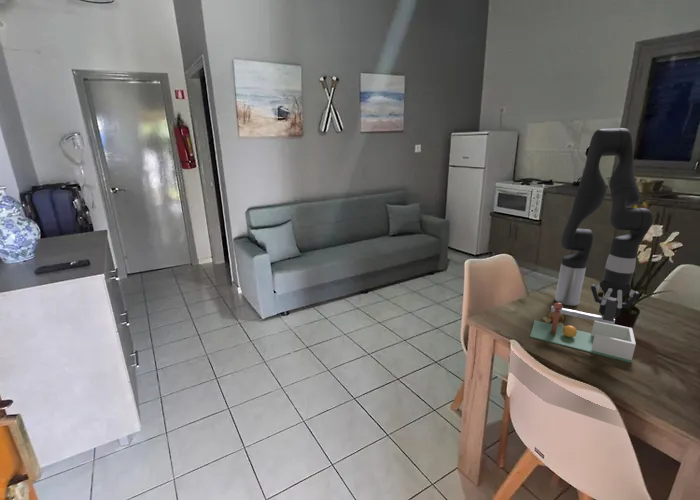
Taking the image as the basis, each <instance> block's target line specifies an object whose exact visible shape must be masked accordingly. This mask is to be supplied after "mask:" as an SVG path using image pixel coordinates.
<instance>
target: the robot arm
mask: <svg viewBox="0 0 700 500" xmlns="http://www.w3.org/2000/svg"><path fill="white" fill-rule="evenodd" d="M633 147H634V146H633V137H632V134H631V131H630V129H628V128H625V127H624V128H623V127H618V128H616V127H615V128H600V129H597V130H595V131H594V133H593V134H592V136H591V139H590V142H589V146H588V150H587V151H588V152H587V155H586V161H585V166H584V169H583V173H582V176H581V177H580V181H579V185H578V186H577V187H578V188H577V189H576V190H577V191H576V193H575V198H574V201H573V206H572V209H571V212H570V215H569V218H568V220H567V222H566V225H565V227H564V229H563V231H562V234H561V235H562V236H561V238H560V239H561V240H560V244H561V247H562V248H563V249H564V250H568V251H575V252H574V253H571V254H567V255H564V256H563V257H562V259H561V261H560V262H561V263H560V269H559V274H558V278H557V279H558V280H557V286H556V289H555V290H556V291H555V296H554V300H555V301H556V303H557V302H559V303H561V304H562V305H565V306H569V307H570V306H572V307H573V306H579V304H580V299H581V294H582V290H583V285H584V279H585V275H586V269H587V265H588V263H589V258H590V255H591V251H592V248H593V243H594V237H595V236H594V232H593V230H591V229H589V228H579V226H580V225H581V224H582V222H584V220H586V219H587V218H589V217H590V216H591V215H592V214H594V213H595V212H596V211H597V210H599V208H600V207H602V204H603V201H604V198H605V196H606V193H607V183H606V182H605V179H604V177H603V175H602V173H601V171H600V161H601V158H602V157H606V156H607V157H612V156H613V157H614V156H617V158H618V164H617V167H616V168H615V170H614V171H613V173H612V174H611V177H610V179H609V184H608V187H609V191H610V195H611V200H612V202H611V203H612V205H611V213H610V218H609V222H610V224H611V225H610V226H612V227H613V228H614V229H615V230H618V231H628V232H627V233H626V234H624V235H618V236H615V237H613V239H612V240H611V243H610V244H611V245H610V250H609V254H608V256H607V260H606V263H605V267H604V272H603V276H602V280H601V281H600V282H599V283H596V284H595V283H591V284H590V289H591V292H592V296H593V299H594V301H595V302H596V303H597V304H598V303H599V307H598V313H599V314H600V316H602V315H604V310H605V303H606V301H607V300H608V298H609V297H612V298H617V302H618V305H617V309H616V313H615V317H614V319H615V318H617V317H620V315H621V312H622V309H623V308H625V309H628V308H630V307H631V306H632V305H633V303H634V302H636V300H637V299H638V298H640V293H639V291H638V290H637V291H636V290H633V289H632V287H631V283H632V280H633V275H634V272H635V269H636V261H637V256H638V251H639V247H640V245H641V243H642V242H643V240H644V238H645V236H646V235H647V234H648V232H649V230H650V229H651V227H652V225H653V222H654V216H653V213H652V211H651V210H650V209H648V208H645V207H631V206H633V205H635V204H637V203H639V201H640V197H641V196H640V192H639V189H638V185H637V180H636V177H635V170H634V169H635V168H634V151H633V150H634V149H633ZM599 289H601V291H602V292H603V294H602V297H600V296H599V293H598V291H599ZM627 294H629V297H627V299H625V301H624V302H623V297H624V296H625V295H627Z"/></svg>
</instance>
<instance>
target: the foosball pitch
mask: <svg viewBox="0 0 700 500" xmlns="http://www.w3.org/2000/svg"><path fill="white" fill-rule="evenodd" d="M551 328H552V323H546V322H544V321H539V320H535V319H534V321H533V326H532V328H531V332H530V335H529V337H530V339H531V338H532V339H534V340H535V339H536V340H539V341H544V342H547V343H552V344H556V345H559V346H564V347H566V348H567V347H568V348H571V349H576V350H579V351H582V352H587V353H591V354H594V355H599V356H602V357H606V358H611V359H615V360H618V361H622V362H626V363H630V364H632V363H633V361H632V360H633V356H634V353H635V349H636V345H637V344H636V339H635V335H634V331H633V327H630V326H629V327H628V326H623V325H619V324H615V323H614V325H612V324H608V323H603V322H598V321H594V320H593V325H592V330H591V332H588V331H587V332H586V331H584V330H583V331H582V330H577V329H576V330H577V334H576V336H574V337H572V338H569V337H566V336H565V335H564V334H563V328H564V327H562V326H561V325H558V326H557V329H556V334H555V335H553V334H551Z"/></svg>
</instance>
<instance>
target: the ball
mask: <svg viewBox="0 0 700 500" xmlns="http://www.w3.org/2000/svg"><path fill="white" fill-rule="evenodd" d="M564 326H565V327H564V328H563V334H564V335H565V336H566V337H569V338H572V337H574V336H576V334H577V329H576V327H575V326H573V325H570V324H568V325H564Z"/></svg>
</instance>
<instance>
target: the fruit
mask: <svg viewBox="0 0 700 500" xmlns="http://www.w3.org/2000/svg"><path fill="white" fill-rule="evenodd" d="M553 317H554V312H552V311H550V312H549V313H548V316H543V317H542V320H543V322H544V323H549V324H551V323H552V322H553ZM563 322H566V314H561V313H559V319H558V324H557V326H562V327H565V326H566V325H564V323H563Z"/></svg>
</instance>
